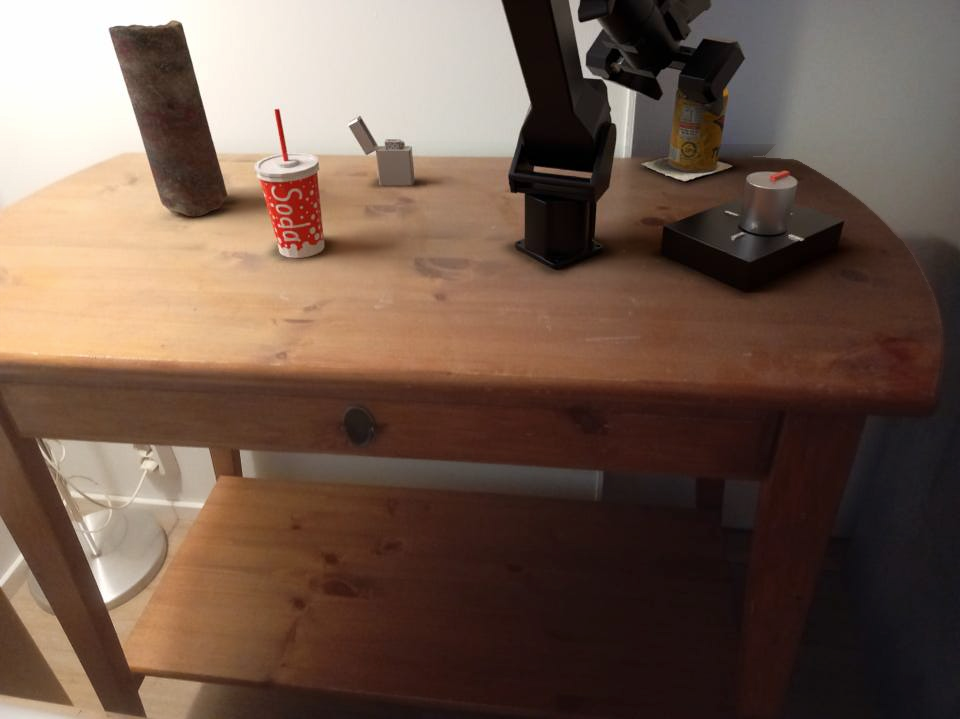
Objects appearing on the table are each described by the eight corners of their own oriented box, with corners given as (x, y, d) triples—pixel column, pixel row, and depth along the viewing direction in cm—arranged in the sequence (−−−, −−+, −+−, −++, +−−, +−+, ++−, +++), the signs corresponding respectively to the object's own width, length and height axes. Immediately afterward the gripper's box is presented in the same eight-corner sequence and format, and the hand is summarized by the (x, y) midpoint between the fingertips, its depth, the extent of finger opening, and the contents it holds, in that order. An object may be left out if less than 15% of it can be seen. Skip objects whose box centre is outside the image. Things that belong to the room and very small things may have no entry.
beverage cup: (259, 257, 75) (229, 116, 67) (292, 232, 79) (267, 99, 72) (312, 264, 73) (287, 121, 65) (342, 239, 77) (322, 102, 70)
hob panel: (747, 293, 65) (753, 261, 63) (659, 254, 72) (663, 224, 70) (840, 250, 72) (848, 219, 70) (751, 217, 79) (757, 189, 77)
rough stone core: (147, 213, 85) (91, 26, 74) (190, 191, 91) (144, 13, 80) (201, 221, 83) (150, 28, 72) (241, 198, 88) (201, 16, 77)
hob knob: (767, 239, 67) (778, 188, 64) (728, 224, 70) (736, 175, 67) (797, 227, 69) (808, 177, 66) (758, 212, 72) (767, 164, 70)
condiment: (732, 167, 92) (749, 65, 85) (684, 182, 88) (697, 77, 81) (688, 152, 97) (700, 55, 90) (641, 166, 93) (650, 66, 86)
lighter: (414, 180, 91) (409, 114, 87) (412, 185, 90) (406, 118, 86) (358, 180, 92) (350, 115, 88) (355, 185, 91) (346, 119, 86)
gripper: (749, -49, 69) (797, 58, 80) (610, -58, 82) (668, 35, 93) (681, 52, 70) (738, 145, 81) (553, 27, 83) (618, 110, 94)
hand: (688, 104), depth 87 cm, fingers open, 9 cm apart
